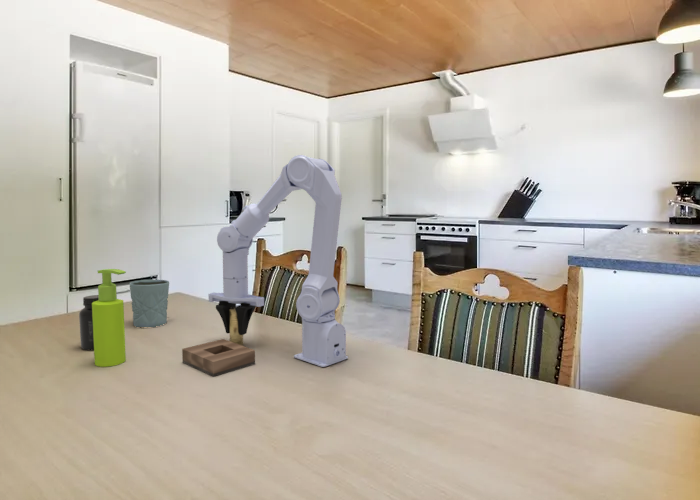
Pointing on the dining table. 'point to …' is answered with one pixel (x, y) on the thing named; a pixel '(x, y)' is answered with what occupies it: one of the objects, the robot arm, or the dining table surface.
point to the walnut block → (218, 357)
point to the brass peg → (234, 327)
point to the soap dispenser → (108, 323)
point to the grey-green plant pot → (149, 302)
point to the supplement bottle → (87, 323)
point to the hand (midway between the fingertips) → (236, 333)
